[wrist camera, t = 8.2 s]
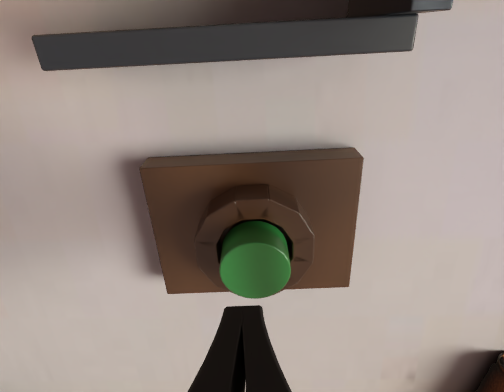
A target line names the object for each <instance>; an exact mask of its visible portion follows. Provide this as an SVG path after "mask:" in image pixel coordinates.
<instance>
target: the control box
mask: <svg viewBox="0 0 504 392" xmlns="http://www.w3.org/2000/svg"><path fill="white" fill-rule="evenodd" d="M363 159H364V158H363V157H362V156H361V154H360V153H359V152H358V151H357V150H356V149H355V148H338V149H318V150H297V151H276V152H255V153H235V154H214V155H193V156H173V157H152V158H148V159H147V160H146V161H145V162H144V163H143V165H142V166H141V167H140V174H141V178H142V183H143V187H144V191H145V196H146V200H147V205H148V209H149V214H150V218H151V223H152V227H153V231H154V236H155V240H156V245H157V249H158V254H159V258H160V263H161V267H162V271H163V276H164V280H165V285H166V289H167V294H180V293H205V292H232V291H230V290H229V289H228V288H227V287H226V286H225V285H224V283H223V282H222V280H221V277H220V273H219V268H220V260H221V253H222V245H223V241H224V238H225V236H226V235H227V233H228V232H229V231H230V230H231V229H232V228H234V227H235V226H237V225H239V224H241V223H244V222H248V221H262V222H266V223H269V224H271V225H273V226H275V227H276V228H277V229H279V230H280V231H281V232H282V234H283V235H284V237H285V239H286V242H287V247H288V253H289V259H290V265H291V274H290V278H289V280H288V282H287V283H286V285H285V286H284V287H283V288H282V289H281V290H280V291H283V290H285V289H307V288H333V287H349V282H350V273H351V264H352V255H353V247H354V238H355V229H356V220H357V212H358V203H359V194H360V185H361V176H362V168H363ZM280 291H278V292H280ZM278 292H277V293H278ZM232 293H233V292H232ZM234 294H235V293H234ZM275 294H276V293H275ZM273 295H274V294H273Z"/></svg>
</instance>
